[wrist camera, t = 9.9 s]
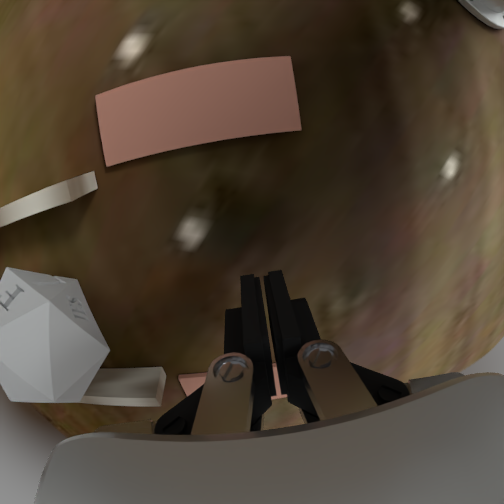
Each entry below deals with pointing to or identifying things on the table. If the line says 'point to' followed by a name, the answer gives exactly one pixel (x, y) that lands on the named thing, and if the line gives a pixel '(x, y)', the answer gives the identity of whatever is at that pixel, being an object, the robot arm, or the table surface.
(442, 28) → the table surface
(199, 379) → the mat
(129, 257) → the table surface
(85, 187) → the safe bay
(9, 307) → the die
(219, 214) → the table surface
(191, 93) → the mat
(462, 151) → the table surface
